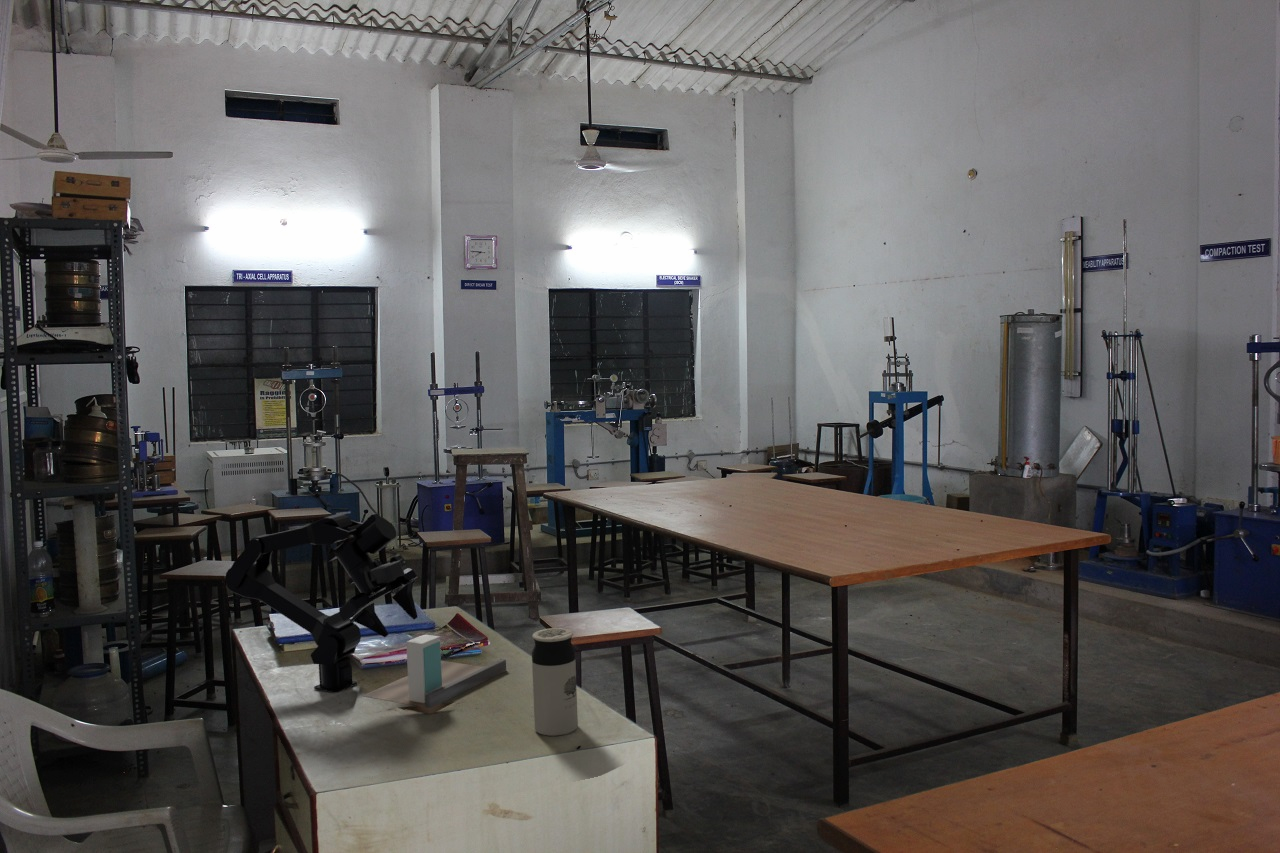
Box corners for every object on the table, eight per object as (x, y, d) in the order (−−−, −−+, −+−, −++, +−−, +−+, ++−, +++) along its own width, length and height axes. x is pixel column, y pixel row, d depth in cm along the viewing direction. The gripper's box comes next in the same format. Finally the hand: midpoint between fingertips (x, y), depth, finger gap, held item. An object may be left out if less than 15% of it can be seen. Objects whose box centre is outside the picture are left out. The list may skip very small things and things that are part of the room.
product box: (409, 700, 191) (406, 641, 190) (427, 691, 196) (424, 634, 195) (425, 703, 189) (422, 643, 188) (443, 694, 194) (440, 636, 193)
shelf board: (362, 701, 195) (361, 684, 195) (442, 665, 217) (441, 650, 217) (430, 714, 186) (429, 696, 186) (506, 675, 208) (505, 659, 208)
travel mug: (526, 730, 177) (522, 634, 175) (557, 717, 182) (554, 625, 181) (554, 740, 171) (551, 642, 170) (586, 727, 177) (583, 632, 176)
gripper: (348, 562, 189) (392, 627, 187) (410, 533, 205) (451, 592, 204) (319, 589, 194) (362, 652, 193) (382, 558, 211) (422, 616, 209)
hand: (401, 627), depth 199 cm, fingers open, 9 cm apart
